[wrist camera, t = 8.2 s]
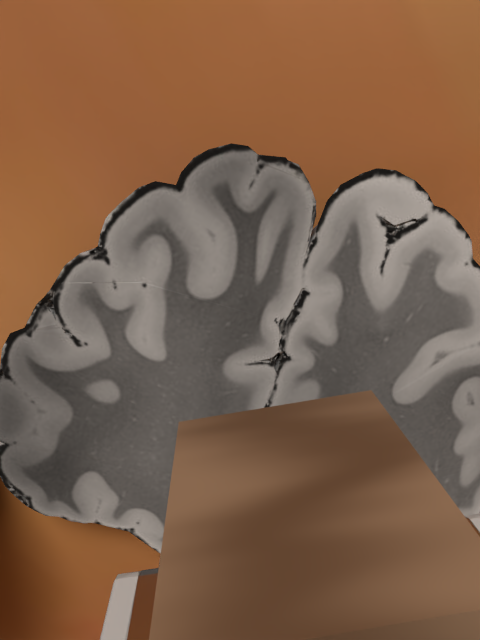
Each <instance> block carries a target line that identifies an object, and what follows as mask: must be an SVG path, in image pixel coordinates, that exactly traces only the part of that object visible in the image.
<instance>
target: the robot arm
mask: <svg viewBox="0 0 480 640" xmlns="http://www.w3.org/2000/svg"><path fill="white" fill-rule="evenodd" d="M465 518H466V519H467V520H468V522H469V523H470V524H471V526H472V527H473V528H474V530H475V531H476V533H477V534H478V535H479V537H480V513H478V514H472V515H467V516H465ZM158 569H159V568H156V569H149V570H142V571H138V572H131V573H124V574H118V576H117V577H116V579H115V581H114V584H113V588H112V592H111V596H110V600H109V604H108V608H107V612H106V616H105V621H104V625H103V629H102V633H101V637H100V640H149V635H150V628H151V621H152V613H153V606H154V599H155V591H156V584H157V577H158Z"/></svg>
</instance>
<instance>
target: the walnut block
mask: <svg viewBox="0 0 480 640" xmlns="http://www.w3.org/2000/svg"><path fill="white" fill-rule="evenodd" d="M149 640H480V537H479V535H478V534H477V533H476V531H475V530H474V528H473V527H472V526H471V524H470V523H469V522H468V520H467V519H466V518H465V516H464V515H463V514H462V512H461V511H460V510H459V508H458V507H457V505H456V504H455V503H454V501H453V500H452V499H451V497H450V496H449V495H448V493H447V492H446V491H445V489H444V488H443V486H442V485H441V484H440V482H439V481H438V480H437V478H436V477H435V476H434V474H433V473H432V472H431V470H430V469H429V468H428V466H427V465H426V463H425V462H424V461H423V459H422V458H421V457H420V455H419V454H418V453H417V451H416V450H415V449H414V447H413V446H412V445H411V443H410V442H409V440H408V439H407V438H406V436H405V435H404V434H403V432H402V431H401V430H400V428H399V427H398V426H397V424H396V423H395V421H394V420H393V419H392V417H391V416H390V415H389V413H388V412H387V411H386V409H385V408H384V407H383V405H382V404H381V403H380V401H379V400H378V398H377V397H376V396H375V394H374V393H373V392H372V390H369V391H363V392H357V393H351V394H345V395H338V396H332V397H326V398H320V399H314V400H308V401H302V402H296V403H290V404H284V405H278V406H272V407H266V408H260V409H254V410H248V411H242V412H236V413H230V414H224V415H218V416H212V417H206V418H199V419H193V420H187V421H181V422H179V423H178V431H177V438H176V445H175V453H174V460H173V467H172V475H171V482H170V489H169V496H168V504H167V511H166V518H165V526H164V533H163V540H162V548H161V555H160V562H159V569H158V577H157V584H156V591H155V599H154V606H153V613H152V621H151V628H150V635H149Z"/></svg>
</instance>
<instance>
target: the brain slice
mask: <svg viewBox="0 0 480 640" xmlns="http://www.w3.org/2000/svg"><path fill="white" fill-rule="evenodd" d="M315 217H316V200H315V198H314V195H313V192H312V189H311V187H310V184H309V181H308V180H307V178H306V176H305V175H304V173H303V171H302V170H301V168H300V166H299V165H298V164H295V163H293V162H291V161H288V160H287V159H286V158H285V157H275V156H265V155H258V154H256V153H255V152H254V151H253V150H252V149H251V148H250V147H248V146H244V145H237V144H228V145H224V146H220V147H217V148H213V149H209V150H207V151H205V152H203V153H202V154H200V155H198V156H196V157H194V158H193V159H192V161H191V162H190V163H189V164H188V165H187V166H186V168H185V169H184V170H183V171H182V172H181V174H180V177H179V179H178V182H177V184H176V185H173V184H167V183H162V182H156V181H155V182H152V183H150V184H147V185H144V186H142V187H139V188H138V189H137V190H135V191H134V192H133V193H132V194H131V195H129V196H128V197H127V198H126V199H125V200H123V201H122V202H121V203H120V204H119V205H118V206H117V207H116V208H115V209H114V210H113V211H112V212H111V213H110V214H109V215H108V216H107V217H106V219H105V222H104V225H103V228H102V231H101V234H100V238H99V244H98V247H96V248H94V249H91V250H88V251H86V252H83V253H80V254H79V255H78V256H76V257H75V258H74V259H72V260H71V261H70V262H69V263H67V264H66V265H65V266H64V268H63V269H62V271H61V273H60V274H59V276H58V278H57V279H56V281H55V283H54V284H53V286H52V288H51V289H50V291H49V292H48V293H47V294H46V295H45V297H44V298H43V299H42V300H41V301H40V302H39V303H38V304H37V305H36V307H35V308H34V310H33V312H32V314H31V316H30V318H29V320H28V322H27V324H26V326H25V328H23V329H20V330H18V331H15V332H13V333H10V335H9V337H8V339H7V341H6V342H5V344H4V346H3V348H2V356H1V365H0V477H1V479H2V481H3V483H4V485H5V486H6V487H7V489H8V490H9V491H10V492H11V493H12V494H13V495H14V496H16V497H17V498H18V499H19V500H20V501H21V502H22V503H24V504H25V505H26V506H28V507H29V508H31V509H33V510H35V511H37V512H39V513H41V514H43V515H45V516H58V517H61V518H64V519H66V520H69V521H74V522H80V523H96V524H100V525H104V526H109V527H113V528H117V529H121V530H125V531H129V532H131V533H132V534H133V535H135V536H136V537H137V538H139V539H140V540H141V541H143V542H144V543H146V544H147V545H149V546H150V547H152V548H153V549H155V550H156V551H158V552H159V553H161V548H162V540H163V533H164V526H165V518H166V511H167V504H168V496H169V489H170V482H171V475H172V467H173V460H174V453H175V445H176V438H177V431H178V423H179V422H181V421H187V420H193V419H199V418H206V417H212V416H218V415H224V414H230V413H236V412H242V411H248V410H254V409H260V408H266V407H272V406H278V405H284V404H290V403H296V402H302V401H308V400H314V399H320V398H326V397H332V396H338V395H345V394H351V393H357V392H363V391H369V390H372V392H373V393H374V394H375V396H376V397H377V398H378V400H379V401H380V403H381V404H382V405H383V407H384V408H385V409H386V411H387V412H388V413H389V415H390V416H391V417H392V419H393V420H394V421H395V423H396V424H397V426H398V427H399V428H400V430H401V431H402V432H403V434H404V435H405V436H406V438H407V439H408V440H409V442H410V443H411V445H412V446H413V447H414V449H415V450H416V451H417V453H418V454H419V455H420V457H421V458H422V459H423V461H424V462H425V463H426V465H427V466H428V468H429V469H430V470H431V472H432V473H433V474H434V476H435V477H436V478H437V480H438V481H439V482H440V484H441V485H442V486H443V488H444V489H445V491H446V492H447V493H448V495H449V496H450V497H451V499H452V500H453V501H454V503H455V504H456V505H457V507H458V508H459V510H460V511H461V512H462V514H463V515H464V516H467V515H472V514H478V513H480V266H479V265H478V264H477V263H476V262H475V260H474V259H473V257H472V241H471V239H470V237H469V235H468V234H467V232H466V231H465V230H464V228H463V227H462V226H461V224H460V223H459V222H458V221H457V220H456V219H455V218H454V217H453V216H452V215H451V214H450V213H448V212H447V211H446V210H445V209H443V208H440V207H437V206H434V205H433V203H432V201H431V199H430V197H429V195H428V193H427V192H426V191H425V190H424V189H423V188H422V187H421V186H420V185H419V184H418V183H417V182H416V181H415V180H413V179H411V178H409V177H407V176H405V175H403V174H401V173H400V172H398V171H396V170H386V169H374V170H371V171H368V172H365V173H362V174H360V175H359V176H357V177H355V178H353V179H351V180H349V181H347V182H345V183H343V184H341V185H340V186H339V188H338V189H337V190H336V191H335V192H334V193H333V195H332V196H331V197H330V198H329V199H328V201H327V203H326V205H325V208H324V210H323V213H322V215H321V218H320V221H319V223H318V225H317V226H316V227H315V228H314V229H313V225H314V221H315ZM312 229H313V230H312Z"/></svg>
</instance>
